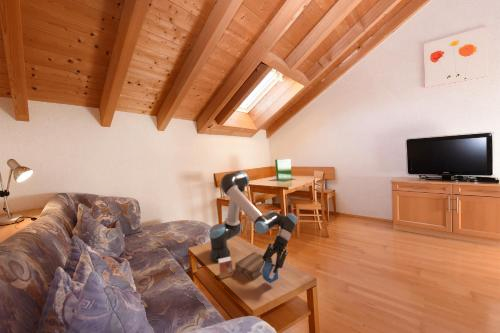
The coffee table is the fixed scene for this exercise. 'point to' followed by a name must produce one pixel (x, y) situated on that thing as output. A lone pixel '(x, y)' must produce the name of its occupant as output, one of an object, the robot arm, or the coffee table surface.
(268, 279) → the perfume bottle
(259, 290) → the coffee table surface
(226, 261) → the small box
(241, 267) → the walnut riser block
